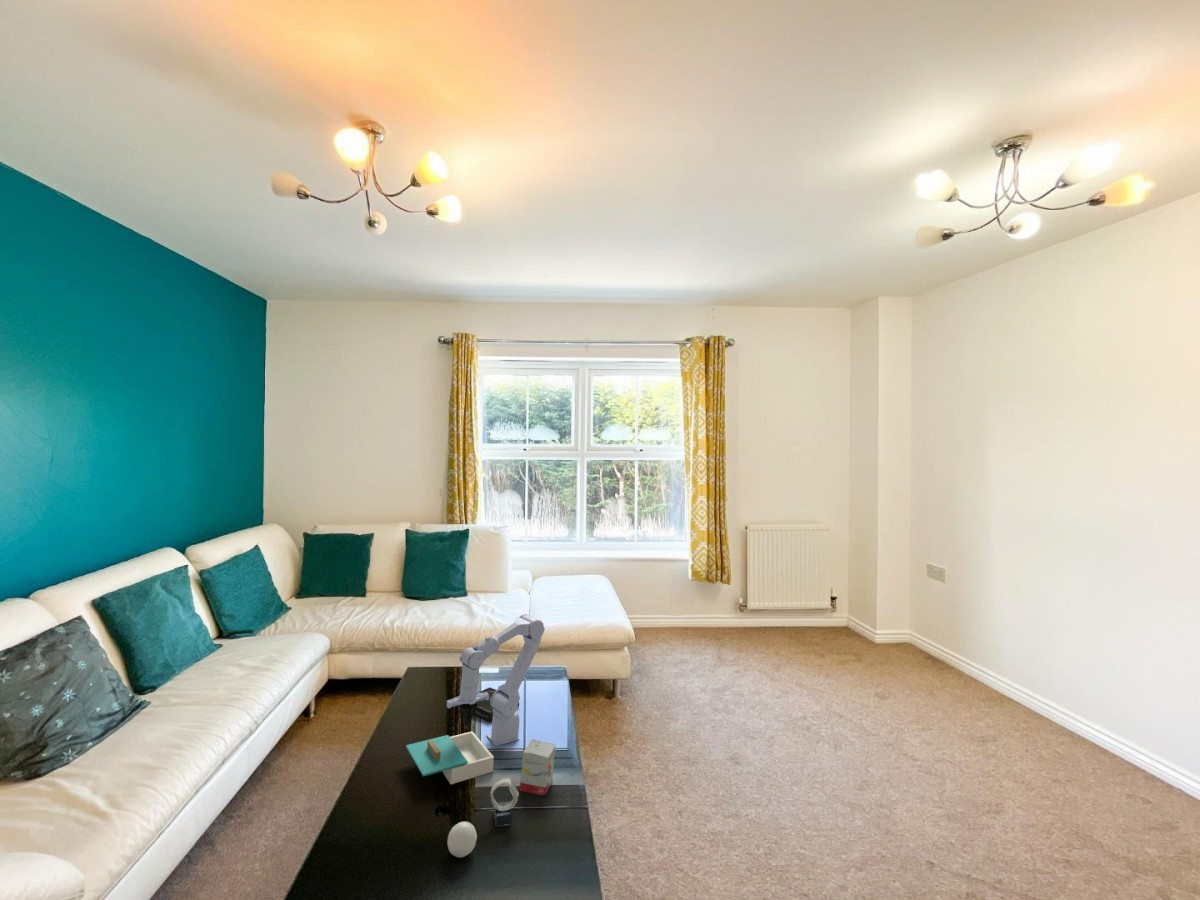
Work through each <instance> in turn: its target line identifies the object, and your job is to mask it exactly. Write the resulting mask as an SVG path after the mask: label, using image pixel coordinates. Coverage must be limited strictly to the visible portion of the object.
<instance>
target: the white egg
mask: <svg viewBox="0 0 1200 900" xmlns="http://www.w3.org/2000/svg"><path fill="white" fill-rule="evenodd" d="M477 834H478V833H477V831H476V828H475V826H474V825H473V824H472V823H470V822H469V821H461V822H460V821H459V822H458V823H457V824H455V825H454V826H453V827H451V830H450V831H449V832H448V836H447V841H446V843H447V848H448V851H449V853H450V854H451V855H452V856H454V857H456V858H464V857H466V856H468V855H469V854H471V853H472V851H473V850H474V848H475V847H476V843H477V840H478V835H477Z"/></svg>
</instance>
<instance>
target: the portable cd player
mask: <svg viewBox="0 0 1200 900" xmlns="http://www.w3.org/2000/svg"><path fill="white" fill-rule="evenodd" d="M496 691H497V689H496V688H492V687H490V686H489V687H487V688H485V689H483V690H479V691H477V693H485V692H487V693H488V694H489V700H481V701H476V704H477V708H476V710H475V711H474V713H473V715H472V716H473V717H476V718H478V719H481V720H483V721H485V722H487V723H492V720H493V708H492V707H491V705H490V699H491V697H492V695H493V694H494V693H495V692H496ZM506 695H507V694H506ZM519 707H520V701H519V702H518V708H519Z"/></svg>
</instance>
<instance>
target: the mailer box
mask: <svg viewBox="0 0 1200 900" xmlns="http://www.w3.org/2000/svg"><path fill="white" fill-rule="evenodd" d="M449 737H450V738H451V740H452V741H453V742H454V744H455V745H456V746H457V748H458V749H459V750H460V752H461V753H462V754H463V756H464V757H465V758H466V760H467V761H468V764H465V765H461V766H458V767H454V768H451V769H447V770H444V771H441V772H442V773H443V775H444V777H445V778H446V780H447V781H448V782H449V784H450V785H453V784H456V783H460V782H464V781H466V780H469V779H473V778H476V777H481V776H482V775H487V774H489V773H492V772H494V759H495V758H494V755H493V754H492V753H491V752H490V750H489V749H488V747H486V746H485V744H484V743H483V742H482V741H481V740H480V739H479V737H478V736H477V735H476V734H475V732H474V731H469V732H464V733H461V734H457V735H451V736H449Z"/></svg>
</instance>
